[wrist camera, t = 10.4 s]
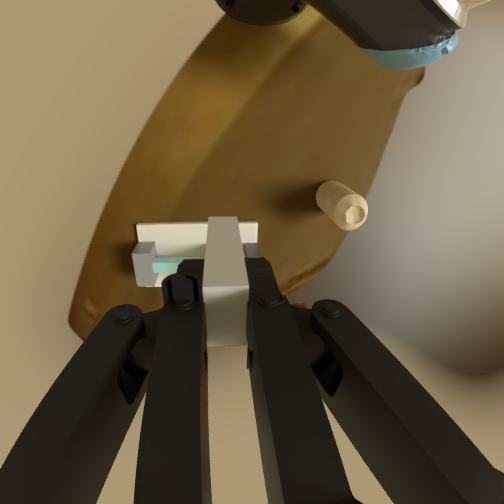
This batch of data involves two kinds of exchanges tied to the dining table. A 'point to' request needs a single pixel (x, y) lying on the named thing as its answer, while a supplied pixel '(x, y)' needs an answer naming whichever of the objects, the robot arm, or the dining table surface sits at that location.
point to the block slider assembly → (178, 247)
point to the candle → (342, 205)
